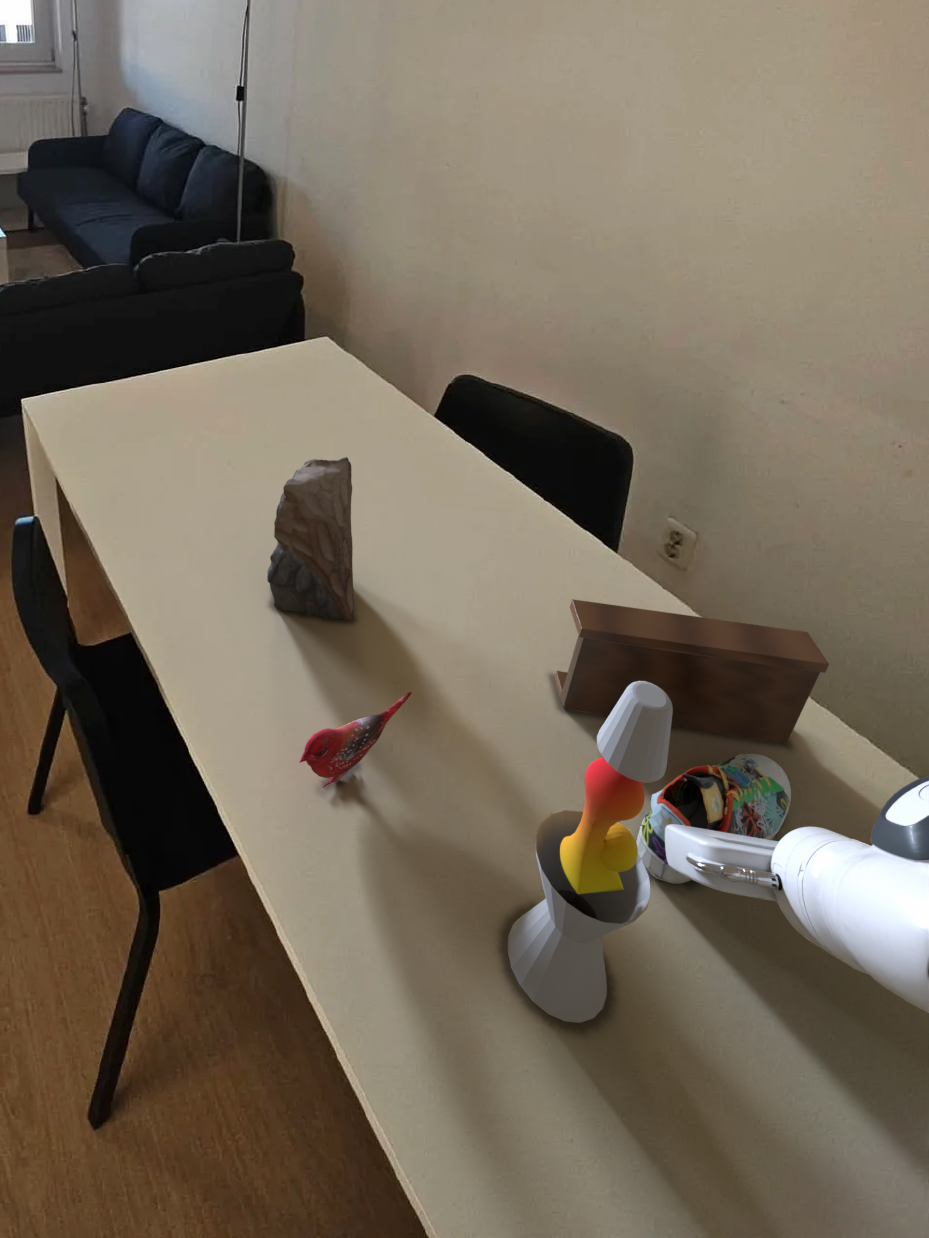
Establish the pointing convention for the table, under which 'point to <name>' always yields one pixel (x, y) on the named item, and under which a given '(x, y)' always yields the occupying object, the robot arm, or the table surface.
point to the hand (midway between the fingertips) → (746, 847)
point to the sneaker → (716, 806)
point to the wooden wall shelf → (693, 668)
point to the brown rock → (314, 542)
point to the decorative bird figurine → (345, 744)
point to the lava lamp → (593, 864)
